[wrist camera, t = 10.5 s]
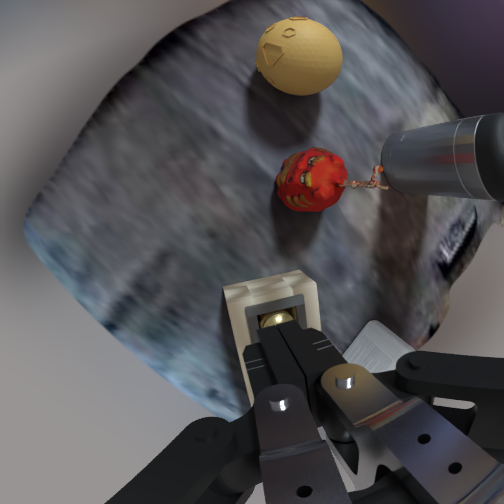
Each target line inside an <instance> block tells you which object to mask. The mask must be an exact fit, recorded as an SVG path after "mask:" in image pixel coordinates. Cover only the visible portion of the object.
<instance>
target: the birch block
mask: <svg viewBox="0 0 504 504" xmlns="http://www.w3.org/2000/svg"><path fill="white" fill-rule="evenodd" d="M223 290H224V294H225V299H226V304H227V308H228V313H229V317H230V322H231V326H232V330H233V335H234V339H235V343H236V348H237V352H238V356H239V361H240V365H241V369H242V373H243V377H244V381H245V385H246V389H247V393H248V397H249V400H250V404H251V407H252V405H253V403H254V395H253V392H252V388H251V385H250V381H249V377H248V374H247V370H246V366H245V363H244V359H243V355H242V353H243V351H244V349H245V347H246V345H250V344H254V343H258V338H257V333H256V330H257V329H261V326H260V324H258V319H257V315H260V314H265V313H269V312H273V311H277V310H281V309H286V310H287V312H288V313H289V314H290V316H291V317H292V318H293V319H295V320H296V321H297V323H298V324H299V325H300V327H301V328H302V329H303V330H304V329H308V328H311V327H312V328H314V329H316V330H319V331H321V325H320V314H319V304H318V294H317V285H316V282H314V281H313V280H312V279H311V278H309V277H308V276H307V275H305V274H304V273H303V272H302V271H300V270H296V271H292V272H287V273H283V274H278V275H274V276H269V277H265V278H260V279H256V280H251V281H247V282H242V283H237V284H233V285H228V286H223Z"/></svg>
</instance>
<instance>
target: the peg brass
mask: <svg viewBox="0 0 504 504" xmlns="http://www.w3.org/2000/svg"><path fill="white" fill-rule="evenodd" d="M257 319H258V322H259V324H260V326H261V328H265V327H268V326H272V325H275V326H276V324H279V323H283V322H287V321H290V320H294V319H293V318H292V317H291V316H290V314H289V313H288V312H287V310H286V309H281V310H277V311H273V312H269V313H265V314H260V315H257Z"/></svg>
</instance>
